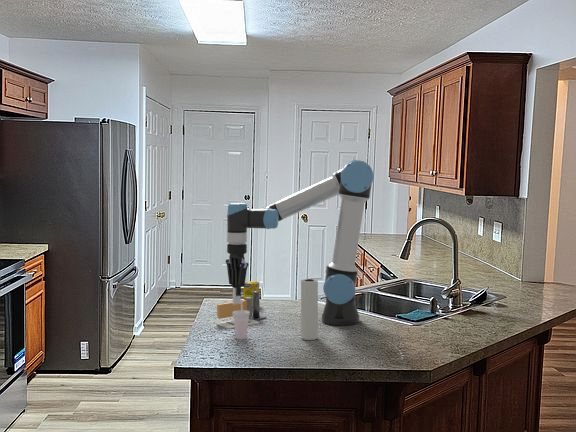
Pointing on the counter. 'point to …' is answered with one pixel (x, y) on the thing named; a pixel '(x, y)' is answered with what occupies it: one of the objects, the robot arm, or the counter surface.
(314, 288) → the paper towel roll
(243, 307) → the orange rectangular slab
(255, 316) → the pivot post
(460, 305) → the counter surface
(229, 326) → the label tile
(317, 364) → the counter surface
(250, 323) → the label tile
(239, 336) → the smoothie
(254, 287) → the supplement box
